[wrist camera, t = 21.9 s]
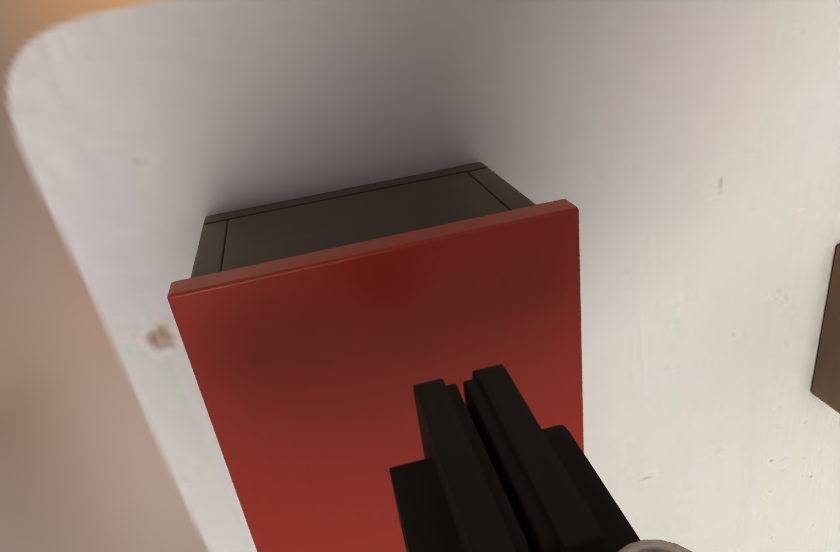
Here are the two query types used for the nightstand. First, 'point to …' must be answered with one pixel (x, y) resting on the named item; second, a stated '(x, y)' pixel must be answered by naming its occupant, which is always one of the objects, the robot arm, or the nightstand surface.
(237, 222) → the black storage box
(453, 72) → the nightstand surface
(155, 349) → the nightstand surface
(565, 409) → the lid
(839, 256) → the wooden stand
